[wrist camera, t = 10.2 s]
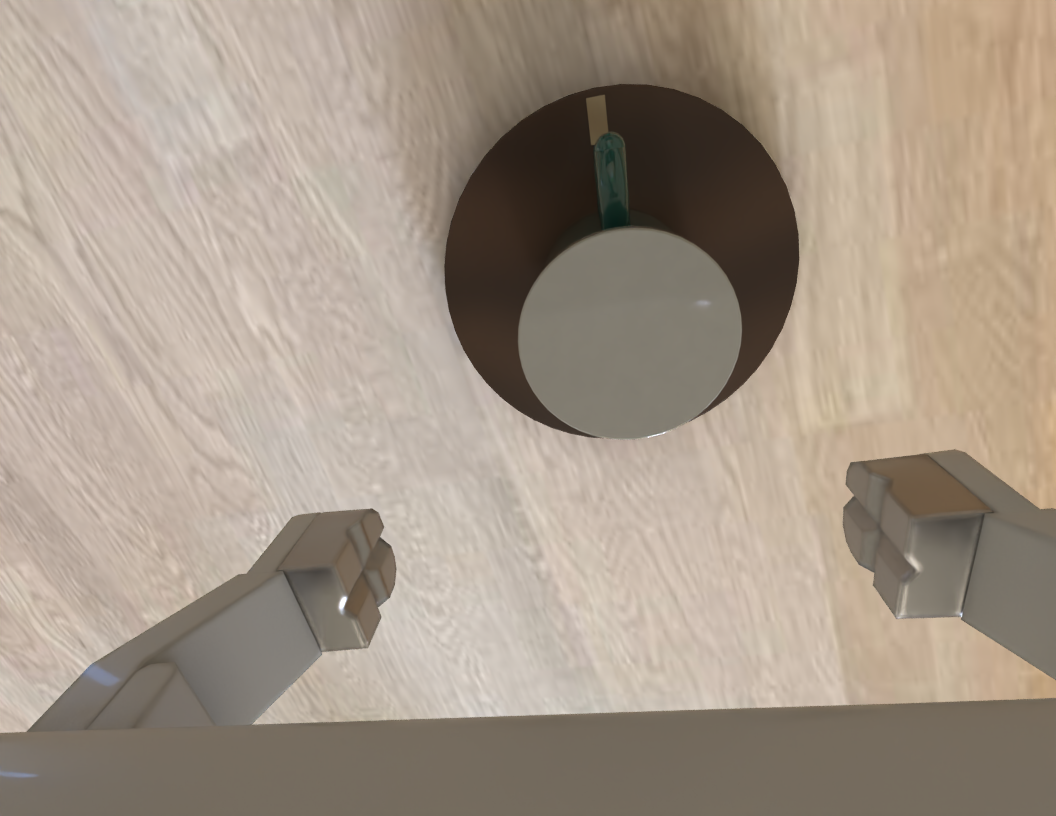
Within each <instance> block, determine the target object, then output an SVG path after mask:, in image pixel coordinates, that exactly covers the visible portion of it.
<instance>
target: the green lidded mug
mask: <svg viewBox="0 0 1056 816" xmlns="http://www.w3.org/2000/svg"><path fill="white" fill-rule="evenodd" d="M593 159H594V171H595V182H596V193H597V204H598V211H597V212H595V213H592V214H589V215H587V216H585V217H583V218H581V219H579V220H578V221H576V222H575V223H574V224H572V225H571V226H569V227H568V228H567V229H566V230H565V231H564V232H563V233H562V234H561V235H560V236H559V238H558V239H557V240H556V241H555V243H554V244H553V246H552V248H551V249H550V251H549V253H548V255H547V257H546V260H545V262H544V264H543V267H542V269H541V272H540V274H539V275H538V277H537V278H536V280H535V281H534V283H533V285H532V287H531V289H530V291H529V293H528V295H527V297H526V300H525V302H524V305H523V308H522V312H521V315H520V321H519V326H518V350H519V357H520V361H521V366H522V369H523V372H524V374H525V377H526V379H527V381H528V383H529V385H530V387H531V389H532V391H533V392H534V394H535V395H536V396H537V398H538V399H539V400H540V402H541V403H542V404H543V405H544V406H545V407H546V408H547V409H548V410H549V411H550V412H551V413H552V414H553V415H555V416H556V417H557V418H558V419H560V420H561V421H563V422H564V423H566V424H568V425H569V426H571V427H573V428H575V429H577V430H579V431H581V432H584V433H587V434H590V435H593V436H597V437H602V438H607V439H616V440H635V439H642V438H648V437H652V436H656V435H660V434H663V433H666V432H668V431H671V430H674V429H676V428H677V427H679V426H681V425H683V424H685V423H687V422H688V421H690V420H691V419H693V418H694V417H696V416H697V415H699V414H700V413H701V412H702V411H703V410H704V409H706V408H707V407H708V406H709V405H710V404H711V403H712V401H713V400H714V399H715V398H716V397H717V396H718V395H719V393H720V392H721V390H722V389H723V388H724V386H725V385H726V383H727V381H728V379H729V377H730V376H731V374H732V372H733V369H734V367H735V364H736V361H737V359H738V355H739V350H740V346H741V337H742V319H741V312H740V307H739V302H738V299H737V296H736V294H735V291H734V288H733V286H732V285H731V283H730V281H729V279H728V277H727V275H726V274H725V273H724V271H723V270H722V269H721V267H720V266H719V265H718V263H717V262H716V261H715V260H714V259H713V258H711V257H710V256H709V255H708V254H707V253H706V252H705V251H704V250H702V249H701V248H700V247H698V246H697V245H696V244H694V243H693V242H691V241H689V240H687V239H686V238H684V237H682V236H680V235H679V234H677V233H676V232H675V231H674V230H673V229H672V228H670V227H669V226H668V225H667V224H665V223H664V222H663V221H661V220H660V219H658V218H656V217H654V216H652V215H651V214H648V213H645V212H642V211H639V210H634V209H630V205H629V190H628V174H627V159H626V145H625V141H624V139H623V138H622V136H621V135H619V134H618V133H616V132H606V133H604V134H602V135H601V136H600V137H599V138H598V139H597V141H596V143H595V145H594V147H593Z"/></svg>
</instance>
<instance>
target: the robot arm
mask: <svg viewBox="0 0 1056 816" xmlns="http://www.w3.org/2000/svg"><path fill="white" fill-rule="evenodd" d="M846 486H847V487H848V488H849V489H850V491H851V492H852V493H853V495H854V496H853V497H852V498H851V500H850V501H849V502H848V503H847V504H846V505H845V506H844V507H843V528H844V533H845V538H846V542H847V544H848V547H849V549H850V551H851V553H852V555H853V556H854V558H855V559H856V561H857V562H858V564H859V565H861V566H863V567H864V568H866V569H868V570H870V571H872V572H874V581H873V586H874V587H875V589H876V590H877V592H878V593H879V595H880V596H881V597H882V599H883V600H884V602H885V603H886V605H887V606H888V607H889V609H890V610H891V612H892V613H893V615H894V616H895V618H896V619H904V618H937V617H961V620H963V621H964V622H966V623H967V624H969V625H970V626H972V627H974V628H975V629H977V630H978V631H980V632H981V633H983V634H985V635H986V636H988V637H989V638H991V639H992V640H994V641H995V642H997V643H999V644H1000V645H1002V646H1003V647H1005V648H1006V649H1008V650H1010V651H1011V652H1013V653H1014V654H1016V655H1017V656H1019V657H1021V658H1022V659H1024V660H1025V661H1027V662H1028V663H1030V664H1032V665H1033V666H1035V667H1036V668H1038V669H1039V670H1041V671H1042V672H1044V673H1046V674H1047V675H1049V676H1050V677H1052V678H1053V679H1055V680H1056V509H1053V508H1051V509H1039V508H1038V507H1036V506H1035V505H1034V504H1032V503H1031V502H1030V501H1028V500H1027V499H1026V498H1024V497H1023V496H1022V495H1020V494H1019V493H1018V492H1017V491H1015V490H1014V489H1013V488H1011V487H1010V486H1009V485H1007V484H1006V483H1005V482H1003V481H1002V480H1001V479H999V478H998V477H997V476H996V475H994V474H993V473H992V472H990V471H989V470H988V469H986V468H985V467H984V466H982V465H981V464H980V463H978V462H977V461H976V460H974V459H973V458H972V457H971V456H969V455H968V454H967V453H965V452H962V451H959V450H955V449H954V450H947V451H939V452H931V453H924V454H919V455H911V456H903V457H894V458H885V459H877V460H868V461H859V462H851V463H850V465H849V468H848V470H847V475H846ZM383 529H384V525H383V523H382V520H381V518H380V515H379V513H378V512H377V511H375V510H373V509H360V510H347V511H334V512H323V513H320V512H319V513H310V514H301V515H297V516H294V517H292V518H291V519H290V520H289V522H288V523H287V524H286V525H285V527H284V528H283V529H282V530H281V532H280V533H279V534H278V535H277V537H276V538H275V539H274V540H273V542H272V543H271V544H270V545H269V546H268V548H267V549H266V550H265V551H264V553H263V554H262V555H261V556H260V558H259V559H258V560H257V561H256V563H255V564H254V565H253V566H252V568H251V569H250V570H249V571H248V573H247V574H239V575H237V576H235V577H234V578H232V579H230V580H229V581H227V582H225V583H224V584H222V585H221V586H219V587H217V588H216V589H214V590H212V591H211V592H209V593H207V594H206V595H204V596H203V597H201V598H199V599H198V600H196V601H194V602H193V603H191V604H189V605H188V606H186V607H184V608H183V609H181V610H180V611H178V612H176V613H175V614H173V615H171V616H170V617H168V618H166V619H165V620H163V621H161V622H160V623H158V624H157V625H155V626H153V627H152V628H150V629H148V630H147V631H145V632H143V633H142V634H140V635H139V636H137V637H135V638H134V639H132V640H130V641H129V642H127V643H125V644H124V645H122V646H120V647H119V648H117V649H116V650H114V651H112V652H111V653H109V654H107V655H106V656H104V657H102V658H101V659H99V660H98V661H96V662H94V663H93V664H91V665H90V666H89V667H88V668H87V669H86V670H85V671H84V672H83V673H82V674H81V675H80V677H79V678H78V679H77V680H76V681H75V682H74V683H73V684H72V685H71V686H70V687H69V688H68V689H67V690H66V691H65V692H64V693H63V694H62V695H61V696H60V697H59V698H58V699H57V700H56V702H55V703H54V704H53V705H52V706H51V707H50V708H49V709H48V710H47V711H46V712H45V713H44V714H43V715H42V716H41V717H40V718H39V719H38V720H37V721H36V722H35V723H34V724H33V725H32V727H31V728H30V729H29V730H28V731H27V732H14V733H0V816H1056V698H1045V699H1016V700H988V701H960V702H931V703H900V704H868V705H836V706H804V707H772V708H740V709H708V710H677V711H648V712H618V713H588V714H559V715H529V716H500V717H470V718H440V719H410V720H379V721H349V722H319V723H289V724H259V725H252V724H253V723H254V722H255V721H256V720H257V719H258V718H259V717H260V716H261V715H262V714H263V713H264V712H265V711H266V710H267V709H268V708H269V707H270V706H271V705H272V704H273V703H274V702H275V701H276V700H277V699H278V698H279V697H280V696H281V695H282V694H283V693H284V692H285V691H286V690H287V689H288V688H289V687H290V686H291V685H292V684H293V683H294V682H295V681H296V680H297V679H298V678H299V677H300V676H301V675H302V674H303V673H304V672H305V671H306V670H307V669H308V668H309V667H310V666H311V665H312V664H313V663H314V662H315V661H316V660H317V659H318V658H319V657H320V656H321V655H322V653H321V652H327V651H338V650H350V649H362V648H368V647H369V645H370V642H371V640H372V638H373V635H374V633H375V631H376V628H377V626H378V624H379V622H380V619H381V615H380V612H379V609H378V607H379V606H380V605H381V604H383V603H384V602H385V601H386V600H387V599H389V598H390V596H391V593H392V591H393V588H394V586H395V578H396V562H395V556H394V553H393V550H392V547H391V546H390V545H389V544H388V543H386V542H385V541H384V540H383V539H381V538H380V536H381V533H382V531H383Z"/></svg>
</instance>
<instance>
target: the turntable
mask: <svg viewBox="0 0 1056 816" xmlns="http://www.w3.org/2000/svg"><path fill="white" fill-rule="evenodd" d="M606 132H616V133H618V134H619V135H621V136H622V138H623V139H624V141H625V145H626V159H627V174H628V190H629V205H630V209H634V210H639V211H642V212H645V213H648V214H651V215H652V216H654V217H656V218H658V219H660V220H661V221H663V222H664V223H665V224H667V225H668V226H669V227H670V228H672V229H673V230H674V231H675V232H676V233H677V234H679V235H680V236H682V237H684V238H686V239H687V240H689V241H691V242H693V243H694V244H696V245H697V246H698V247H700V248H701V249H702V250H704V251H705V252H706V253H707V254H708V255H709V256H710V257H711V258H713V259H714V260H715V261H716V262H717V263H718V265H719V266H720V267H721V269H722V270H723V271H724V273H725V274H726V275H727V277H728V279H729V281H730V283H731V285H732V286H733V288H734V291H735V294H736V296H737V299H738V302H739V307H740V312H741V319H742V337H741V346H740V350H739V355H738V359H737V361H736V364H735V367H734V369H733V372H732V374H731V376H730V377H729V379H728V381H727V383H726V385H725V386H724V388H723V389H722V390H721V392H720V393H719V395H718V396H717V397H716V398H715V399H714V400H713V401H712V403H711V404H710V405H709V406H708V407H707V408H706V409H704V410H703V411H702V412H701V413H700V414H699V415H697V416H696V417H694V418H693V419H695V418H697V417H699V416H701V415H703V414H705V413H706V412H708V411H710V410H711V409H713V408H714V407H716V406H717V405H718V404H720V403H721V402H723V401H724V400H726V399H727V398H728V397H729V396H730V395H732V394H733V393H734V392H735V391H736V390H737V389H738V388H739V387H741V386H742V385H743V384H744V383H745V382H746V381H747V379H748V378H749V377H750V376H751V375H752V374H753V373H754V372H755V371H756V369H757V368H758V367H759V366H760V364H761V363H762V361H763V360H764V359H765V357H766V356H767V354H768V353H769V352H770V350H771V349H772V347H773V345H774V343H775V341H776V339H777V337H778V336H779V334H780V332H781V330H782V328H783V325H784V323H785V320H786V318H787V315H788V312H789V310H790V307H791V304H792V300H793V296H794V291H795V287H796V283H797V274H798V265H799V237H798V229H797V223H796V218H795V212H794V208H793V205H792V202H791V199H790V196H789V193H788V190H787V187H786V185H785V183H784V181H783V179H782V177H781V175H780V173H779V171H778V169H777V167H776V165H775V163H774V162H773V160H772V159H771V158H770V156H769V155H768V153H767V152H766V150H765V149H764V148H763V146H762V145H761V143H760V142H759V141H758V140H757V139H756V138H755V137H754V136H753V135H752V134H751V133H750V132H749V131H748V130H747V129H746V128H745V127H744V126H743V125H742V124H740V123H739V122H738V121H736V120H735V119H734V118H732V117H731V116H730V115H728V114H727V113H726V112H724V111H723V110H721V109H720V108H718V107H716V106H714V105H712V104H710V103H708V102H706V101H704V100H702V99H700V98H698V97H695V96H692V95H689V94H687V93H684V92H681V91H678V90H675V89H670V88H664V87H658V86H652V85H636V84H619V85H611V86H604V87H596V88H592V89H588V90H585V91H581V92H578V93H574V94H571V95H568V96H566V97H563V98H561V99H559V100H557V101H554V102H552V103H550V104H548V105H546V106H544V107H542V108H540V109H539V110H537V111H536V112H534V113H533V114H531V115H529V116H528V117H526V118H525V119H523V120H522V121H520V122H519V123H518V124H517V125H516V126H514V127H513V128H512V129H511V130H510V131H509V132H507V133H506V134H505V135H504V136H503V137H502V138H501V139H500V140H499V141H498V142H497V143H496V144H495V145H494V146H493V148H492V149H491V150H490V151H489V152H488V153H487V154H486V155H485V157H484V158H483V159H482V161H481V162H480V164H479V165H478V167H477V168H476V170H475V171H474V172H473V174H472V175H471V177H470V179H469V181H468V183H467V185H466V187H465V189H464V191H463V193H462V195H461V197H460V198H459V201H458V204H457V207H456V210H455V212H454V215H453V218H452V221H451V225H450V230H449V235H448V239H447V244H446V255H445V289H446V295H447V301H448V307H449V312H450V315H451V319H452V322H453V325H454V328H455V331H456V334H457V336H458V338H459V340H460V343H461V345H462V347H463V349H464V351H465V353H466V354H467V356H468V358H469V359H470V361H471V363H472V364H473V366H474V368H475V369H476V370H477V371H478V373H479V374H480V375H481V376H482V378H483V379H484V380H485V382H486V383H487V384H488V385H489V386H490V387H491V388H492V389H493V390H494V391H495V392H496V393H497V394H498V395H499V396H500V397H501V398H503V399H504V400H505V401H506V402H508V403H509V404H510V405H512V406H513V407H514V408H515V409H517V410H518V411H520V412H522V413H523V414H525V415H527V416H528V417H530V418H532V419H533V420H536V421H538V422H540V423H542V424H544V425H547V426H549V427H551V428H554V429H557V430H561V431H564V432H567V433H570V434H575V435H581V436H586V437H593V438H602V437H597V436H593V435H590V434H587V433H584V432H581V431H579V430H577V429H575V428H573V427H571V426H569V425H568V424H566V423H564V422H563V421H561V420H560V419H558V418H557V417H556V416H555V415H553V414H552V413H551V412H550V411H549V410H548V409H547V408H546V407H545V406H544V405H543V404H542V403H541V402H540V400H539V399H538V398H537V396H536V395H535V394H534V392H533V391H532V389H531V387H530V385H529V383H528V381H527V379H526V377H525V374H524V372H523V369H522V366H521V361H520V357H519V350H518V326H519V321H520V315H521V312H522V308H523V305H524V302H525V300H526V297H527V295H528V293H529V291H530V289H531V287H532V285H533V283H534V281H535V280H536V278H537V277H538V275H539V274H540V272H541V269H542V267H543V264H544V262H545V260H546V257H547V255H548V253H549V251H550V249H551V248H552V246H553V244H554V243H555V241H556V240H557V239H558V238H559V236H560V235H561V234H562V233H563V232H564V231H565V230H566V229H567V228H568V227H569V226H571V225H572V224H574V223H575V222H576V221H578V220H579V219H581V218H583V217H585V216H587V215H589V214H592V213H595V212H597V211H598V204H597V193H596V182H595V171H594V159H593V147H594V145H595V143H596V141H597V139H598V138H599V137H600V136H601V135H602V134H604V133H606ZM693 419H691V420H690V421H692V420H693ZM690 421H688V422H690Z"/></svg>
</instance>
